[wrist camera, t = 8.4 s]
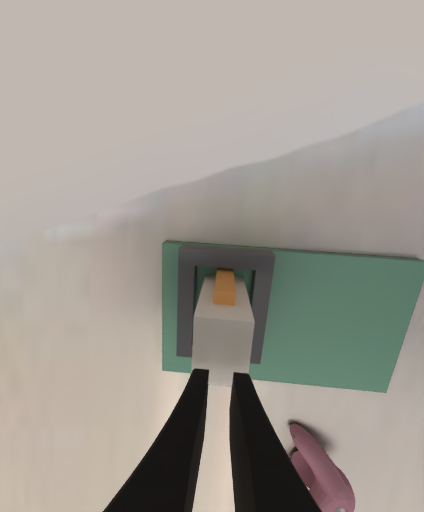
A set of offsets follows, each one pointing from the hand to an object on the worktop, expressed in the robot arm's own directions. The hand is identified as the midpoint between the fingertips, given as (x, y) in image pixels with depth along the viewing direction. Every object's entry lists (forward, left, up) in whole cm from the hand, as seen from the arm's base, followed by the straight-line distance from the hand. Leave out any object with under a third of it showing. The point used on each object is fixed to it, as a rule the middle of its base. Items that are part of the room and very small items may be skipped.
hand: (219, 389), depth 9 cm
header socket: (0, 0, -9) cm, 9 cm away
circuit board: (-5, +2, -9) cm, 11 cm away
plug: (0, 0, -8) cm, 8 cm away
